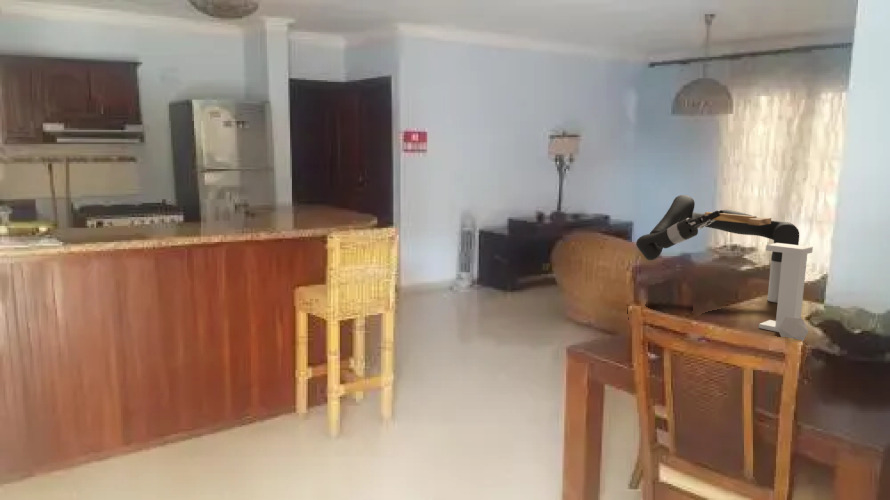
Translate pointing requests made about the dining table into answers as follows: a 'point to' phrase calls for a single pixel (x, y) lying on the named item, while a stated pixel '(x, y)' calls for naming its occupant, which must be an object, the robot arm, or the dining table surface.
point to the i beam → (789, 283)
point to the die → (793, 328)
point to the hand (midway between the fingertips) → (720, 212)
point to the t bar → (742, 219)
